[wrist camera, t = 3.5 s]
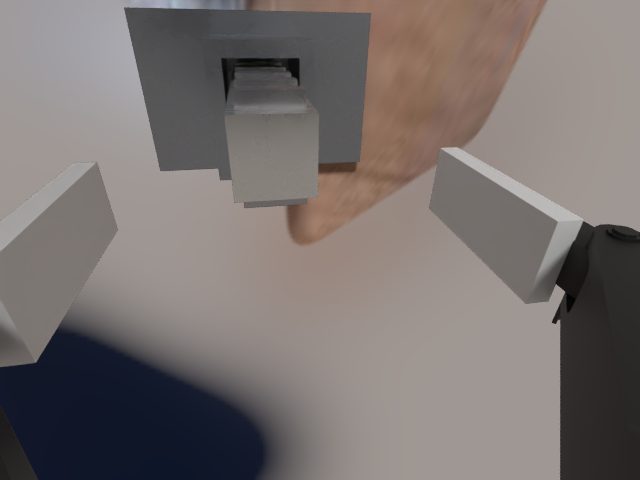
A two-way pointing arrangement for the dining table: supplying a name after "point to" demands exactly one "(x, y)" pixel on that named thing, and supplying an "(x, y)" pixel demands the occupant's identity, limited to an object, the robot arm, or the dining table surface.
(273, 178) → the column
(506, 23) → the dining table surface
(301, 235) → the dining table surface
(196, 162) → the stand
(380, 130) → the dining table surface
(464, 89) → the dining table surface
